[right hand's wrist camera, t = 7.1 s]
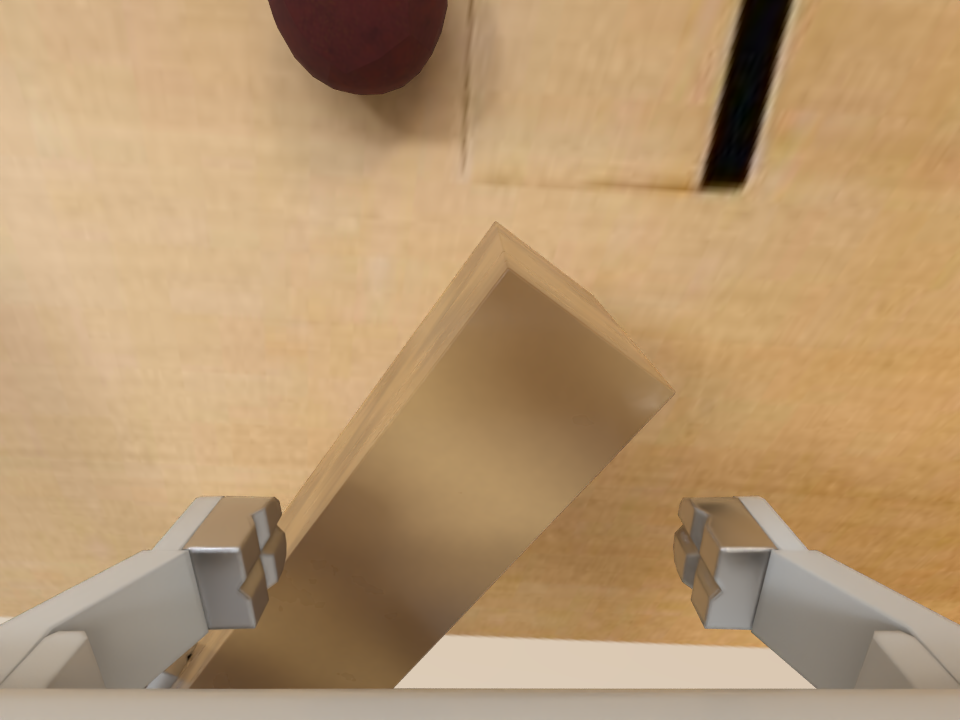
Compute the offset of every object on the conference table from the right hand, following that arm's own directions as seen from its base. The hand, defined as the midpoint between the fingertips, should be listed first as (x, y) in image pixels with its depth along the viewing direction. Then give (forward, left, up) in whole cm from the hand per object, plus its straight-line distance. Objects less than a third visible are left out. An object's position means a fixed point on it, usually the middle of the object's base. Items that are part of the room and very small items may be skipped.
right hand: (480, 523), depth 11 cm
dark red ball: (-1, -14, -21) cm, 25 cm away
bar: (+7, +4, -10) cm, 13 cm away
